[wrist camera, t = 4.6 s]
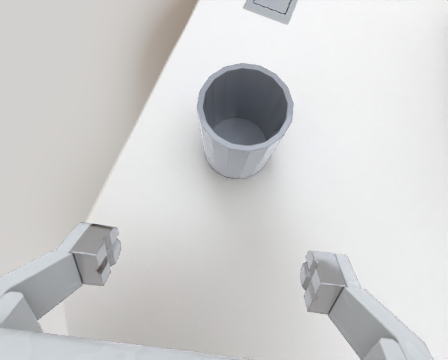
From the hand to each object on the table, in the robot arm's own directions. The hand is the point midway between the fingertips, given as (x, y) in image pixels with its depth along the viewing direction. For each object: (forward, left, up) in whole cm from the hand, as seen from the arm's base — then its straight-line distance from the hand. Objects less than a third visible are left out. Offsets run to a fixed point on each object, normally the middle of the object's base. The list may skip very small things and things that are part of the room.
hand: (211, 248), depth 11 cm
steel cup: (+9, -1, -12) cm, 15 cm away
